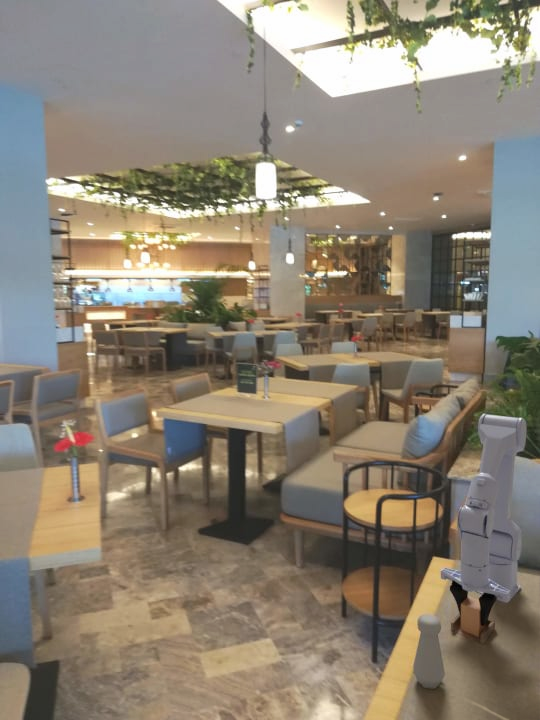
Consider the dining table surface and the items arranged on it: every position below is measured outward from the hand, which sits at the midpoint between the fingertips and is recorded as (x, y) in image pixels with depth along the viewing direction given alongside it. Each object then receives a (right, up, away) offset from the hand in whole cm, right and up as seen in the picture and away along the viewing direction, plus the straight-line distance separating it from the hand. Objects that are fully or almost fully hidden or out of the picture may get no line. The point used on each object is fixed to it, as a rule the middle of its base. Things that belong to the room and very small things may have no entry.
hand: (473, 619), depth 116 cm
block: (0, -2, 0) cm, 2 cm away
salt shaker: (-14, -5, -14) cm, 21 cm away
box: (0, -3, 0) cm, 3 cm away
